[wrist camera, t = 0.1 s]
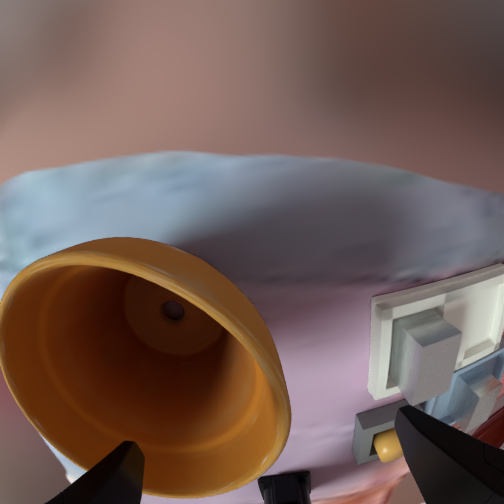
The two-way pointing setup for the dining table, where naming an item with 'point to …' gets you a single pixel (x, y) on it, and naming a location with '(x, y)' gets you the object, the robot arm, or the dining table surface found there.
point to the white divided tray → (447, 306)
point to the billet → (473, 397)
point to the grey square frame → (373, 429)
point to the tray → (438, 405)
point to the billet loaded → (423, 355)
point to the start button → (387, 445)
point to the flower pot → (145, 365)
